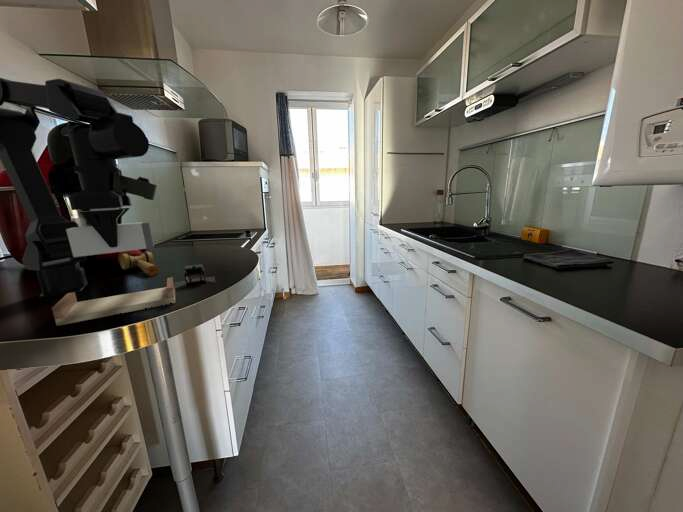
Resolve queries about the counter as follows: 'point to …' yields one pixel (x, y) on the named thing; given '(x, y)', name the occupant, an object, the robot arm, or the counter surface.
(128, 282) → the counter surface
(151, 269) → the kendama
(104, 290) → the counter surface
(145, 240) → the grey-ended white block
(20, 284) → the counter surface
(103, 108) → the robot arm
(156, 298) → the cradle
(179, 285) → the dark piece
